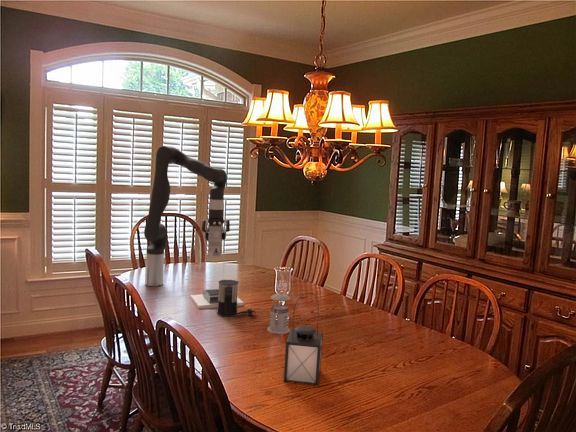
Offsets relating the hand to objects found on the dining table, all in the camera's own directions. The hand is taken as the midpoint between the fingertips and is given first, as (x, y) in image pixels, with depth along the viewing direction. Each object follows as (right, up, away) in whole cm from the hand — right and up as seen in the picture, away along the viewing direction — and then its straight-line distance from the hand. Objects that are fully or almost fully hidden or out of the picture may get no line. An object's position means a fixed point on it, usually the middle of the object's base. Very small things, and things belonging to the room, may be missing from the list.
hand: (215, 240), depth 239 cm
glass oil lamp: (+33, -35, -44) cm, 66 cm away
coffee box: (0, -8, +1) cm, 8 cm away
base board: (+2, -30, -9) cm, 31 cm away
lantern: (+42, -40, -86) cm, 104 cm away
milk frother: (+13, -33, -27) cm, 44 cm away
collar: (+2, -28, -9) cm, 30 cm away
